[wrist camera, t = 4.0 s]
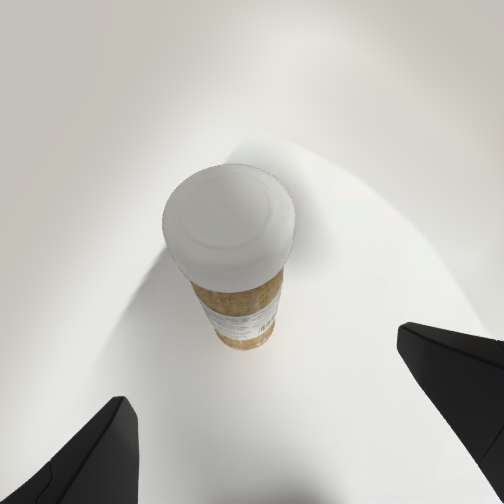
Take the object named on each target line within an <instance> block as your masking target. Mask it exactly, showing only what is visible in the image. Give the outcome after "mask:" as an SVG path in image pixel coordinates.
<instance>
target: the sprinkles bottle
mask: <svg viewBox="0 0 504 504" xmlns="http://www.w3.org/2000/svg"><path fill="white" fill-rule="evenodd" d="M295 220H296V214H295V207H294V203H293V200H292V198H291V196H290V194H289V192H288V190H287V189H286V188H285V186H284V185H283V184H282V183H281V182H280V181H279V180H278V179H276V178H275V177H274V176H272V175H271V174H269V173H267V172H265V171H263V170H261V169H258V168H255V167H252V166H248V165H241V164H225V165H218V166H214V167H210V168H207V169H204V170H201V171H199V172H197V173H195V174H194V175H192V176H190V177H189V178H187V179H186V180H185V181H184V182H183V183H181V184H180V185H179V186H178V187H177V188H176V189H175V190H174V192H173V193H172V194H171V196H170V198H169V200H168V201H167V203H166V206H165V209H164V212H163V218H162V229H163V235H164V238H165V241H166V244H167V246H168V248H169V250H170V252H171V254H172V257H173V259H174V260H175V262H176V264H177V266H178V268H179V269H180V271H181V272H182V273H183V274H184V275H185V276H186V277H187V278H188V279H189V280H190V281H191V283H192V286H193V289H194V291H195V293H196V295H197V297H198V299H199V301H200V303H201V305H202V307H203V309H204V311H205V312H206V314H207V316H208V318H209V320H210V321H211V323H212V325H213V326H214V328H215V331H216V333H217V335H218V337H219V338H220V339H221V340H222V341H223V342H224V343H225V344H226V345H228V346H230V347H232V348H235V349H238V350H248V349H253V348H255V347H258V346H260V345H262V344H263V343H264V342H265V341H266V340H267V339H268V338H269V336H270V335H271V334H272V332H273V328H274V325H275V316H276V312H277V307H278V303H279V298H280V293H281V288H282V282H283V268H284V265H285V263H286V261H287V259H288V257H289V255H290V252H291V248H292V244H293V238H294V231H295Z"/></svg>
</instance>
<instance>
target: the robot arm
mask: <svg viewBox="0 0 504 504" xmlns="http://www.w3.org/2000/svg"><path fill="white" fill-rule="evenodd" d="M397 350H398V352H399V354H400V356H401V357H402V359H403V360H404V362H405V364H406V365H407V367H408V368H409V370H410V372H411V373H412V375H413V377H414V378H415V380H416V381H417V383H418V384H419V386H420V387H421V388H422V390H423V391H424V392H425V394H426V395H427V396H428V397H429V399H430V400H431V401H432V403H433V404H434V405H435V407H436V408H437V409H438V411H439V412H440V413H441V415H442V416H443V417H444V419H445V420H446V421H447V423H448V424H449V425H450V427H451V428H452V430H453V431H454V432H455V434H456V435H457V436H458V438H459V439H460V441H461V442H462V443H463V445H464V446H465V448H466V449H467V450H468V452H469V453H470V455H471V456H472V458H473V459H474V460H475V462H476V463H477V464H478V467H479V468H480V469H481V471H482V472H483V474H484V475H485V477H486V478H487V480H488V481H489V483H490V484H491V486H492V487H493V489H494V491H495V492H496V494H497V495H498V497H499V498H500V500H501V501H502V502H503V504H504V341H500V340H497V341H496V340H494V339H489V338H484V337H479V336H474V335H469V334H464V333H459V332H454V331H450V330H445V329H440V328H436V327H431V326H426V325H422V324H417V323H413V322H407V323H405V324H402V325H400V326H399V328H398V336H397ZM138 479H139V440H138V418H137V415H136V413H135V411H134V409H133V408H132V406H131V404H130V403H129V401H128V399H127V398H126V397H125V396H117V397H113V398H112V399H111V400H110V401H109V402H108V403H107V404H106V405H105V406H104V407H103V408H102V409H101V410H100V411H99V412H98V413H97V414H96V415H95V416H94V417H93V418H92V419H91V420H90V421H89V422H88V423H87V424H86V425H85V426H84V427H83V428H82V429H81V430H80V431H79V432H77V433H76V434H75V435H74V436H73V437H72V438H71V439H70V440H69V441H68V442H67V443H66V444H65V445H64V446H63V447H62V448H61V449H60V450H59V451H58V452H57V453H56V454H55V455H54V456H53V457H52V458H51V459H50V461H48V462H47V463H46V464H45V465H44V466H43V467H42V468H41V469H40V470H39V471H38V472H37V473H36V474H35V475H34V476H33V477H31V478H30V479H29V480H28V481H27V482H25V483H24V484H23V485H22V486H21V487H19V488H18V489H17V490H15V491H14V492H13V493H12V494H10V495H9V496H8V497H6V498H5V499H4V500H3V501H1V502H0V504H138Z"/></svg>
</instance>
